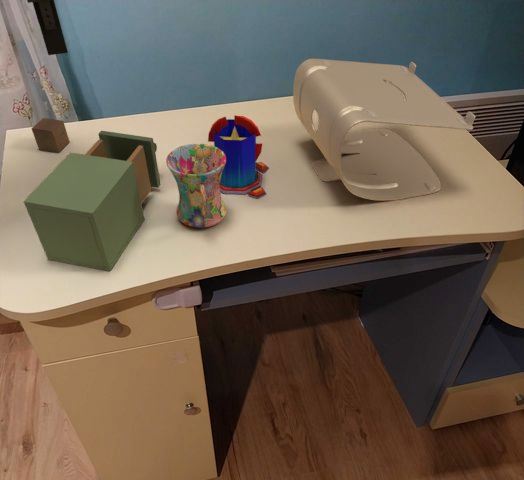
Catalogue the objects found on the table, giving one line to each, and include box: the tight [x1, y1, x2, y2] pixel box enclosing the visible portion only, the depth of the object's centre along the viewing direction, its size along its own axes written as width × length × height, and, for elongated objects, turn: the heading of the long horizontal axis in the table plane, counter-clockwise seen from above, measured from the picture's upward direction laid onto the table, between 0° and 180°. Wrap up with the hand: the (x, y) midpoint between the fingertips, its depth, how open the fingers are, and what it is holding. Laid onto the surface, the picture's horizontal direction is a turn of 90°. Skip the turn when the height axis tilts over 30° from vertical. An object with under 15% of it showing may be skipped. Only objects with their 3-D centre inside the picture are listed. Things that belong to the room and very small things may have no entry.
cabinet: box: [23, 152, 146, 272], centre depth 77 cm, size 14×11×11 cm
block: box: [31, 117, 70, 154], centre depth 97 cm, size 4×4×4 cm
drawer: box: [84, 130, 161, 205], centre depth 84 cm, size 17×9×9 cm, turn 166°
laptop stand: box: [292, 58, 476, 202], centre depth 90 cm, size 26×24×16 cm
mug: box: [165, 143, 227, 228], centre depth 80 cm, size 12×9×11 cm
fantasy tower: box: [207, 114, 270, 200], centre depth 88 cm, size 12×12×12 cm
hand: (52, 36), depth 75 cm, fingers open, 13 cm apart
